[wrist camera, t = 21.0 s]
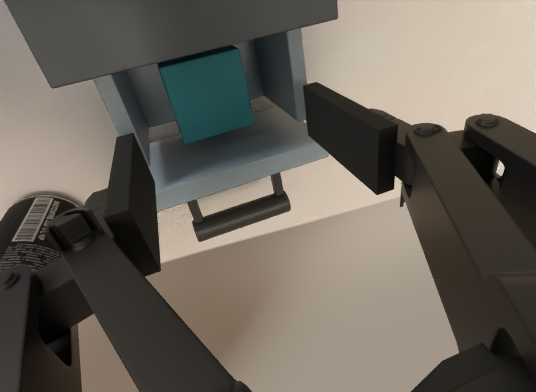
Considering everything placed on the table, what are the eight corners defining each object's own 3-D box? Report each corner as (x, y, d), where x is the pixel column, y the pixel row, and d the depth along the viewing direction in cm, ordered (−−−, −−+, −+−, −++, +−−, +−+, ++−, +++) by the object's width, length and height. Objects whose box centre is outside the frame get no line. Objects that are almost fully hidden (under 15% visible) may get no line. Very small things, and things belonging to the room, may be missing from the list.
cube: (178, 122, 23) (155, 56, 20) (238, 106, 24) (222, 40, 21) (184, 145, 19) (158, 67, 17) (255, 124, 20) (239, 47, 18)
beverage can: (42, 262, 27) (-17, 410, 17) (-14, 211, 24) (-125, 357, 14) (107, 231, 28) (86, 359, 18) (61, 177, 24) (5, 296, 14)
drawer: (292, 172, 29) (334, 220, 23) (164, 213, 27) (170, 279, 21) (249, -102, 19) (303, -156, 13) (40, -67, 17) (-24, -109, 11)
